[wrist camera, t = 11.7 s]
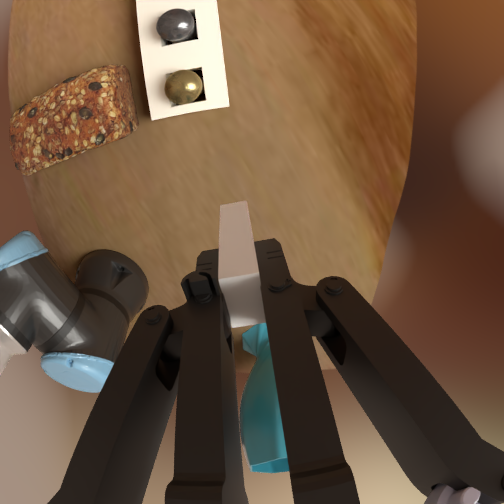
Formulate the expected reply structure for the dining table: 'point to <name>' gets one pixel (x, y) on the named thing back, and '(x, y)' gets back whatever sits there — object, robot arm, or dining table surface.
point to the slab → (182, 56)
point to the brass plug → (183, 87)
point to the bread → (73, 118)
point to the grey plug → (176, 26)
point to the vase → (261, 409)
